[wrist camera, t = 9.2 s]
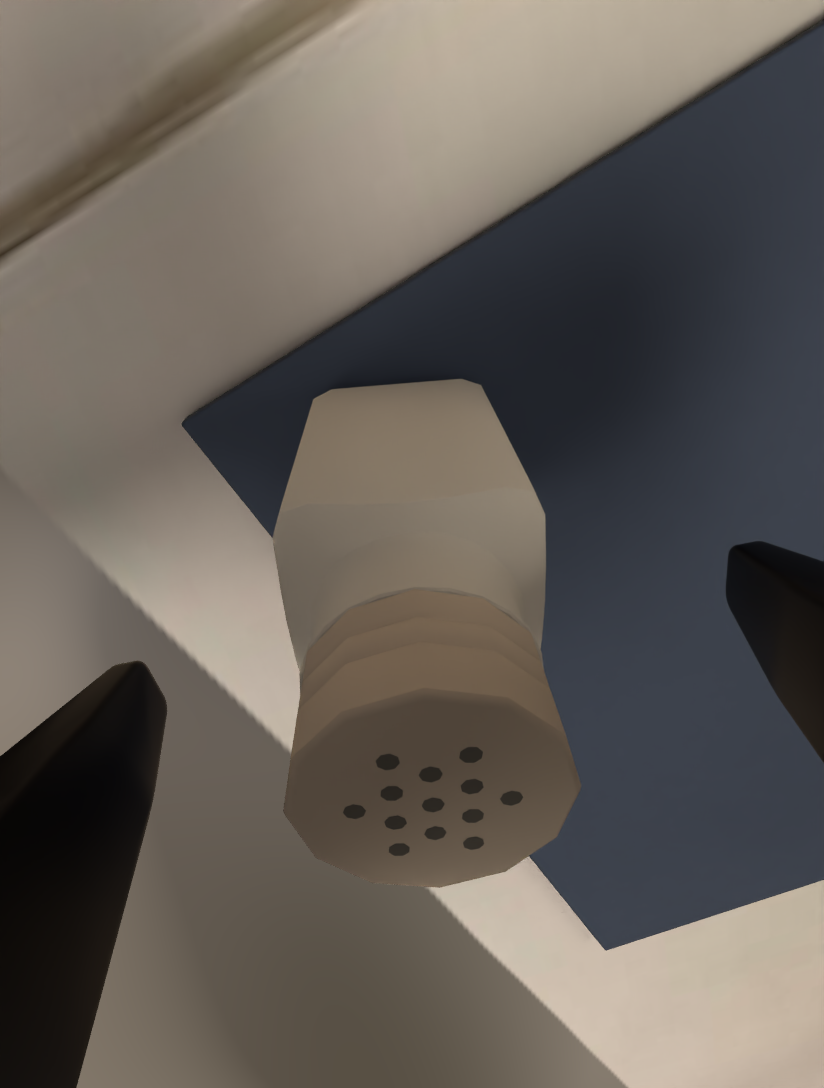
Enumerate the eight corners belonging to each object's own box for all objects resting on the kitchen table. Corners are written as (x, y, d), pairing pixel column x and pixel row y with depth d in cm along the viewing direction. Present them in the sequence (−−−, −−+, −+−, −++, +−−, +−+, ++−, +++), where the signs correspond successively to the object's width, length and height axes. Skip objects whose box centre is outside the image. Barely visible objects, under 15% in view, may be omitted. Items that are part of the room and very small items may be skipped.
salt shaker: (484, 368, 14) (643, 644, 6) (486, 524, 16) (602, 895, 8) (306, 383, 14) (198, 681, 5) (331, 538, 16) (279, 923, 8)
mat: (185, 417, 14) (179, 424, 14) (1005, -95, 11) (1032, -107, 10) (601, 939, 27) (605, 951, 27) (1040, 794, 23) (1052, 805, 23)
